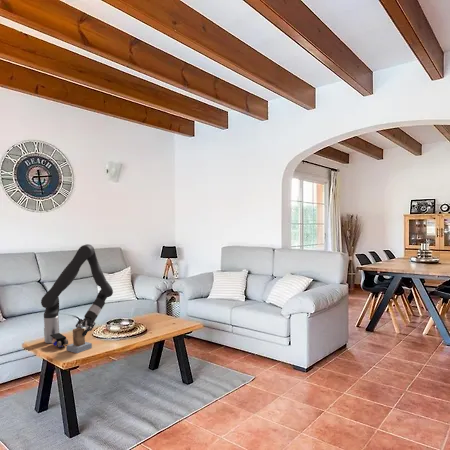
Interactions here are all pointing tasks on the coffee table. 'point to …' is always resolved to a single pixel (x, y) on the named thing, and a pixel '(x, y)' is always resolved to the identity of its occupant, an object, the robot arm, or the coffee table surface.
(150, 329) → the coffee table surface
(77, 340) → the walnut block
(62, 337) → the figurine character
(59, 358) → the coffee table surface
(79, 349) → the blue-grey square slab
